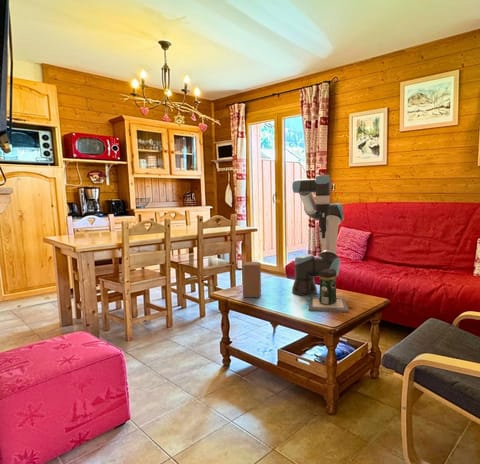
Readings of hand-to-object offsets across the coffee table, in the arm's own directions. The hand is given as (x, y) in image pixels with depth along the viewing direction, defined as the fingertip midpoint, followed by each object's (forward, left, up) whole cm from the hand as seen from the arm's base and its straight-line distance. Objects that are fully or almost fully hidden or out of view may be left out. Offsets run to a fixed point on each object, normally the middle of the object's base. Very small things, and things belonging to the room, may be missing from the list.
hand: (322, 242), depth 193 cm
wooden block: (-7, -42, -34) cm, 54 cm away
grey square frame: (+6, +2, -34) cm, 35 cm away
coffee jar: (+6, +2, -33) cm, 33 cm away
